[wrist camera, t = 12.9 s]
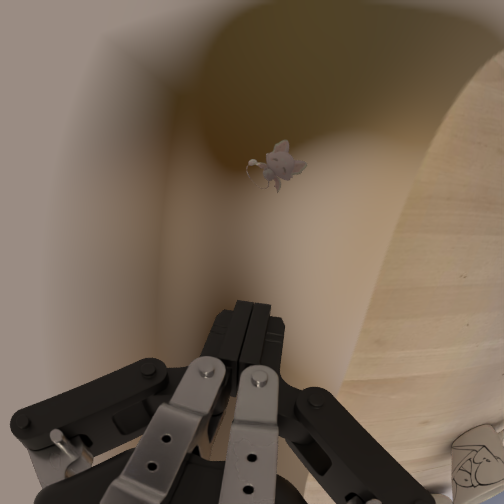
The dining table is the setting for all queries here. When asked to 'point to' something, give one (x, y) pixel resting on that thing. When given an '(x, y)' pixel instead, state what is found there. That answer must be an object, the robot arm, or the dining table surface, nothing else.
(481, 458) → the mug
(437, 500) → the serving bowl
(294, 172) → the toy
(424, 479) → the dining table surface
